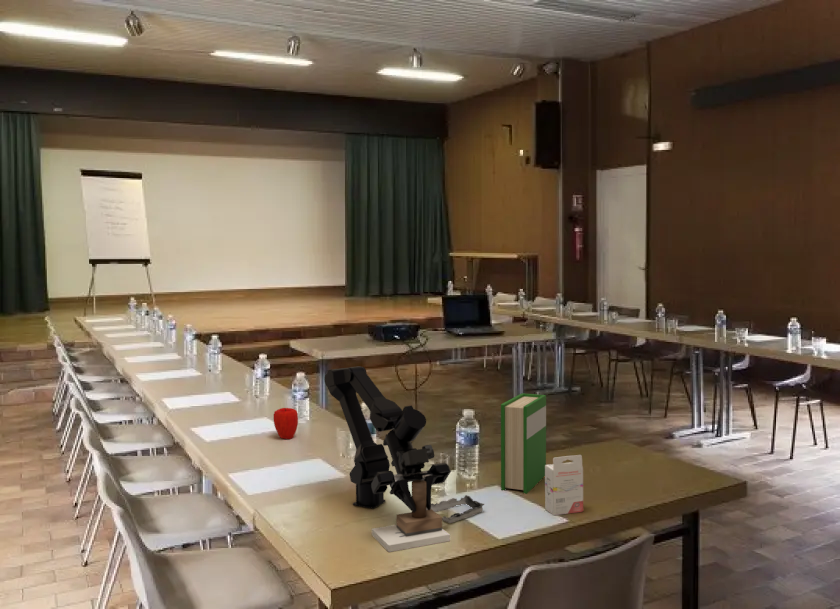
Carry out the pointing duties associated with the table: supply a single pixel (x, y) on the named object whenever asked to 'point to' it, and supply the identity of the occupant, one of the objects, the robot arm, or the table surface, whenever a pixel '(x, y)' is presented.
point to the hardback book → (523, 441)
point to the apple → (286, 422)
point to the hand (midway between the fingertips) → (422, 510)
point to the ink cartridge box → (564, 485)
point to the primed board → (406, 538)
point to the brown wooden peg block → (419, 514)
